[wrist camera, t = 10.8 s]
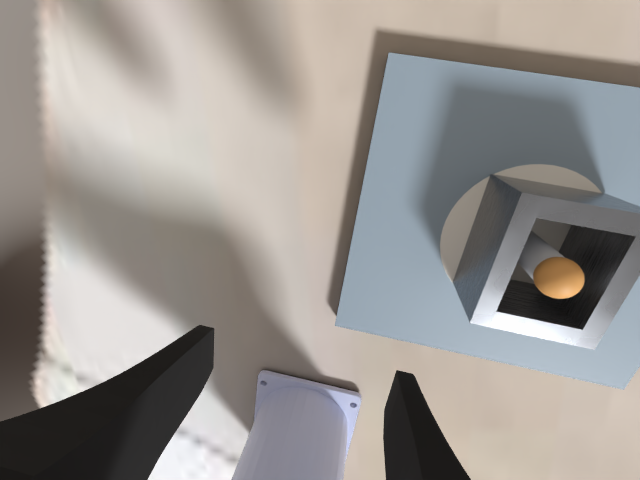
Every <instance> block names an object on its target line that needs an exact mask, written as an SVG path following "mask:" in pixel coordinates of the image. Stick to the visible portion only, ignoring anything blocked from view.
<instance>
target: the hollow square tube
mask: <svg viewBox="0 0 640 480" xmlns="http://www.w3.org/2000/svg"><path fill="white" fill-rule="evenodd" d="M536 218H538V219H544V220H549V221H555V222H560V223H566V224H571V227H570V229H569V231H568V233H567V236H566V238H565V240H564V242H563V244H562V246H561V248H560V250H559V253H560V254H561V255H563V256H564V257H565V258H567V259H570V260H572V261H574V262H575V263H577V264H578V265H579V266H580V268H581V269H582V271H583V273H584V278H585V281H584V285H583V287H582V289H581V290H580V291H579V292H578V293H577V294H576V295H574V296H572V297H569V298H565V299H557V298H552V297H549V296H547V295H545V294H543V293H542V292H541V291H540V290H539V289H538V288H537V287H536V285H535V284H532V283H527V282H522V281H517V280H512V279H510V278H511V276H512V274H513V271H514V269H515V267H516V264H517V262H518V260H519V257H520V255H521V253H522V250H523V248H524V246H525V243H526V241H527V239H528V236H529V234H530V232H531V229H532V227H533V225H534V222H535V220H536ZM639 276H640V206H637V205H634V204H632V203H629V202H627V201H624V200H621V199H619V198H616V197H614V196H611V195H608V194H604V193H598V192H593V191H587V190H581V189H575V188H570V187H564V186H558V185H552V184H547V183H541V182H535V181H529V180H524V179H518V178H512V177H506V176H501V175H495V174H490V177H489V180H488V183H487V186H486V189H485V191H484V194H483V197H482V200H481V203H480V206H479V208H478V211H477V214H476V217H475V220H474V223H473V225H472V228H471V231H470V234H469V237H468V240H467V242H466V245H465V248H464V251H463V254H462V257H461V259H460V262H459V265H458V268H457V271H456V274H455V277H454V279H453V284H454V287H455V289H456V291H457V294H458V296H459V298H460V301H461V303H462V306H463V308H464V310H465V313H466V315H467V317H468V320H469V322H470V323H472V324H476V325H481V326H486V327H490V328H495V329H500V330H504V331H509V332H513V333H518V334H523V335H527V336H532V337H537V338H541V339H546V340H551V341H555V342H560V343H565V344H569V345H574V346H578V347H583V348H588V349H592V350H595V348H596V347H597V345H598V343H599V342H600V340H601V338H602V337H603V335H604V333H605V332H606V330H607V329H608V327H609V325H610V324H611V322H612V320H613V319H614V317H615V315H616V314H617V312H618V310H619V309H620V307H621V305H622V304H623V302H624V300H625V299H626V297H627V295H628V294H629V292H630V291H631V289H632V287H633V286H634V284H635V282H636V281H637V279H638V277H639Z"/></svg>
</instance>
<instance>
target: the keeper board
mask: <svg viewBox="0 0 640 480" xmlns="http://www.w3.org/2000/svg"><path fill="white" fill-rule="evenodd" d="M490 174H495V175H501V176H506V177H512V178H518V179H524V180H529V181H535V182H541V183H547V184H552V185H558V186H564V187H570V188H575V189H581V190H587V191H593V192H598V193H604V194H608V195H611V196H614V197H616V198H619V199H621V200H624V201H627V202H629V203H632V204H634V205H637V206H640V88H639V87H632V86H625V85H618V84H611V83H603V82H596V81H589V80H582V79H575V78H568V77H561V76H554V75H546V74H539V73H532V72H525V71H518V70H511V69H504V68H496V67H489V66H482V65H475V64H468V63H461V62H454V61H447V60H439V59H432V58H425V57H418V56H411V55H404V54H397V53H389V54H388V59H387V64H386V69H385V74H384V79H383V84H382V89H381V94H380V99H379V104H378V109H377V114H376V119H375V125H374V130H373V135H372V140H371V145H370V150H369V155H368V160H367V165H366V170H365V175H364V180H363V185H362V190H361V196H360V201H359V206H358V211H357V216H356V221H355V226H354V231H353V236H352V241H351V246H350V251H349V256H348V261H347V266H346V272H345V277H344V282H343V287H342V292H341V297H340V302H339V307H338V312H337V317H336V322H335V326H338V327H343V328H347V329H352V330H356V331H361V332H365V333H370V334H374V335H379V336H383V337H388V338H392V339H397V340H401V341H406V342H410V343H415V344H420V345H424V346H429V347H433V348H438V349H442V350H447V351H451V352H456V353H460V354H465V355H469V356H474V357H478V358H483V359H487V360H492V361H496V362H501V363H505V364H510V365H514V366H519V367H523V368H528V369H532V370H537V371H542V372H546V373H551V374H555V375H560V376H564V377H569V378H573V379H578V380H582V381H587V382H591V383H596V384H600V385H605V386H609V387H614V388H618V389H623V390H624V389H625V387H626V386H627V384H628V383H629V381H630V380H631V378H632V377H633V376H634V374H635V373H636V371H637V370H638V368H639V367H640V276H639V277H638V279H637V281H636V282H635V284H634V286H633V287H632V289H631V291H630V292H629V294H628V295H627V297H626V299H625V300H624V302H623V304H622V305H621V307H620V309H619V310H618V312H617V314H616V315H615V317H614V319H613V320H612V322H611V324H610V325H609V327H608V329H607V330H606V332H605V333H604V335H603V337H602V338H601V340H600V342H599V343H598V345H597V347H596V348H595V350H592V349H588V348H583V347H578V346H574V345H569V344H565V343H560V342H555V341H551V340H546V339H541V338H537V337H532V336H527V335H523V334H518V333H513V332H509V331H504V330H500V329H495V328H490V327H486V326H481V325H476V324H472V323H470V322H469V320H468V317H467V315H466V313H465V310H464V308H463V306H462V303H461V301H460V298H459V296H458V294H457V291H456V289H455V287H454V284H453V279H454V277H455V274H456V271H457V268H458V265H459V262H460V259H461V257H462V254H463V251H464V248H465V245H466V242H467V240H468V237H469V234H470V231H471V228H472V225H473V223H474V220H475V217H476V214H477V211H478V208H479V206H480V203H481V200H482V197H483V194H484V191H485V189H486V186H487V183H488V180H489V177H490ZM570 227H571V224H566V223H560V222H555V221H549V220H544V219H538V218H536V220H535V222H534V225H533V227H532V229H531V232H530V234H529V236H528V239H527V241H526V243H525V246H524V248H523V250H522V253H521V255H520V257H519V260H518V262H517V264H516V267H515V269H514V271H513V274H512V276H511V278H510V279H512V280H517V281H522V282H527V283H532V284H535V285H536V287H537V288H538V289H539V290H540V291H541V292H542V293H543V294H545V295H547V296H549V297H552V298H557V299H565V298H569V297H572V296H574V295H576V294H577V293H578V292H579V291H580V290H581V289H582V287H583V285H584V281H585V278H584V273H583V271H582V269H581V268H580V266H579V265H578V264H577V263H575V262H574V261H572V260H570V259H567V258H565V257H564V256H563V255H561V254H560V253H559V250H560V248H561V246H562V244H563V242H564V240H565V238H566V236H567V233H568V231H569V229H570Z"/></svg>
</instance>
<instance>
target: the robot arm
mask: <svg viewBox="0 0 640 480" xmlns="http://www.w3.org/2000/svg"><path fill="white" fill-rule="evenodd" d="M213 357H214V328H211V327H206V326H202V325H199V326H197V327H196V328H194V329H192V330H191V331H189V332H188V333H186V334H185V335H183V336H182V337H180V338H179V339H177V340H176V341H174V342H173V343H171V344H169V345H168V346H166V347H165V348H163V349H162V350H160V351H158V352H157V353H155V354H154V355H152V356H150V357H149V358H147V359H145V360H144V361H142V362H140V363H138V364H137V365H135V366H133V367H132V368H130V369H128V370H126V371H124V372H123V373H121V374H119V375H117V376H115V377H113V378H111V379H109V380H107V381H105V382H103V383H101V384H99V385H96V386H94V387H92V388H90V389H88V390H85V391H83V392H80V393H78V394H76V395H73V396H71V397H69V398H66V399H64V400H61V401H59V402H56V403H54V404H51V405H48V406H46V407H43V408H40V409H38V410H35V411H32V412H29V413H26V414H23V415H20V416H18V417H14V418H11V419H8V420H4V421H1V422H0V480H147V479H148V477H149V476H150V474H151V472H152V470H153V468H154V466H155V464H156V463H157V461H158V459H159V457H160V456H161V454H162V452H163V451H164V449H165V447H166V446H167V444H168V443H169V441H170V440H171V438H172V436H173V435H174V433H175V432H176V430H177V429H178V427H179V426H180V424H181V423H182V421H183V420H184V418H185V417H186V415H187V414H188V412H189V411H190V409H191V407H192V406H193V404H194V403H195V401H196V400H197V398H198V397H199V395H200V393H201V392H202V390H203V388H204V386H205V384H206V382H207V380H208V378H209V376H210V374H211V372H212V369H213ZM264 381H265V382H264ZM360 404H361V395H360V394H359V393H358V392H355V391H351V390H347V389H342V388H338V387H334V386H330V385H326V384H321V383H317V382H313V381H309V380H305V379H300V378H296V377H292V376H288V375H284V374H280V373H275V372H271V371H267V370H262V371H260V373H259V375H258V381H257V392H256V403H255V414H254V424H253V426H252V429H251V431H250V434H249V436H248V439H247V442H246V444H245V447H244V449H243V452H242V454H241V457H240V459H239V462H238V464H237V467H236V470H235V472H234V475H233V477H232V480H343V478H344V468H345V461H346V457H347V453H348V449H349V446H350V442H351V438H352V434H353V431H354V427H355V423H356V419H357V415H358V412H359V408H360ZM383 439H384V455H385V470H386V480H471V479H470V478H469V476H468V475H467V473H466V472H465V470H464V469H463V467H462V465H461V464H460V462H459V461H458V459H457V457H456V456H455V454H454V452H453V451H452V449H451V447H450V446H449V444H448V442H447V441H446V439H445V437H444V435H443V433H442V432H441V430H440V428H439V426H438V424H437V422H436V420H435V418H434V417H433V415H432V413H431V411H430V409H429V407H428V405H427V402H426V400H425V398H424V396H423V394H422V392H421V390H420V387H419V385H418V383H417V380H416V378H415V376H414V375H413V374H411V373H406V372H402V371H398V370H397V371H396V374H395V377H394V380H393V383H392V387H391V390H390V393H389V396H388V400H387V403H386V406H385V411H384V435H383Z"/></svg>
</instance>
